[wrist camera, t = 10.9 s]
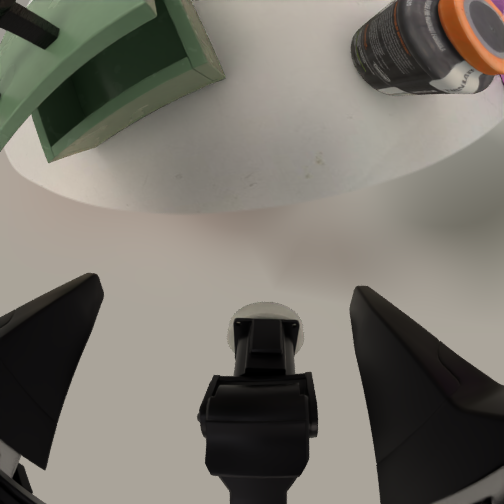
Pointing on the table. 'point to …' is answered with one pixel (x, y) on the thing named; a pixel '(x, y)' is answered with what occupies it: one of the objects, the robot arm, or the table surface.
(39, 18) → the lid
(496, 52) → the pill bottle
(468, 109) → the table surface
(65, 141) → the block
